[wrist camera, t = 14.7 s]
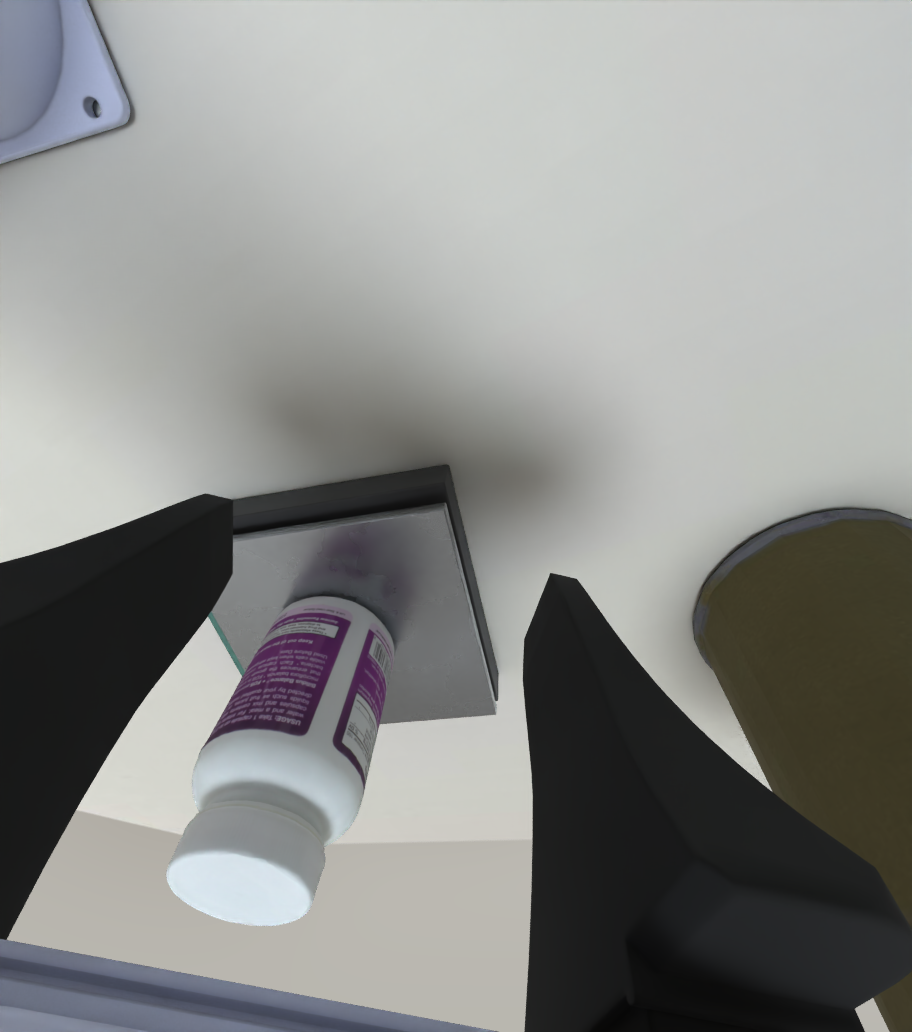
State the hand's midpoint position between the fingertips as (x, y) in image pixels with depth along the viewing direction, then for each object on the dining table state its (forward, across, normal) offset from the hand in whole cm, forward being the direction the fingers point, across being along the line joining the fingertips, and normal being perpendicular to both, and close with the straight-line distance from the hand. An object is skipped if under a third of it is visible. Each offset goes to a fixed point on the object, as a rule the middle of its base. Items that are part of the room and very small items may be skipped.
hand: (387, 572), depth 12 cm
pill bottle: (+7, +2, +9) cm, 12 cm away
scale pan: (+7, +2, +9) cm, 12 cm away
